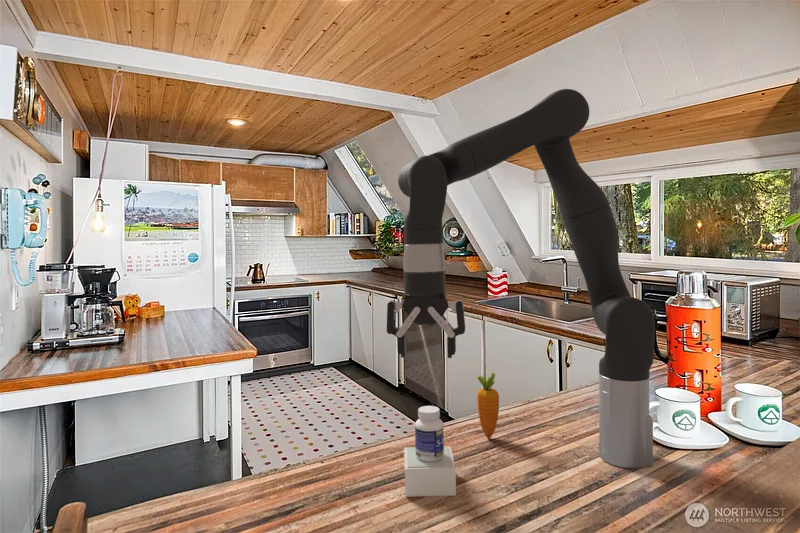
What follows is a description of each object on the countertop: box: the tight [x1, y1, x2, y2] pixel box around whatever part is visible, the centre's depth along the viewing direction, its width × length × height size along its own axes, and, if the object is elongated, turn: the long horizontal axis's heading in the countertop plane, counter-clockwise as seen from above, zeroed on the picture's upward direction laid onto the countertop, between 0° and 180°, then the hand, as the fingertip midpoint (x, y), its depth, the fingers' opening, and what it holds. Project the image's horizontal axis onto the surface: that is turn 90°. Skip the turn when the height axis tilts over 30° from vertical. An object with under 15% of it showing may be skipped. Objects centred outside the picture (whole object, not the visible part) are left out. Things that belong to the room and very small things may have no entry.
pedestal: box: [403, 446, 457, 498], centre depth 90 cm, size 9×9×5 cm
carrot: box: [476, 372, 500, 440], centre depth 110 cm, size 5×5×15 cm
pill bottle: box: [414, 405, 445, 462], centre depth 90 cm, size 5×5×9 cm
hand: (426, 356), depth 89 cm, fingers open, 8 cm apart
